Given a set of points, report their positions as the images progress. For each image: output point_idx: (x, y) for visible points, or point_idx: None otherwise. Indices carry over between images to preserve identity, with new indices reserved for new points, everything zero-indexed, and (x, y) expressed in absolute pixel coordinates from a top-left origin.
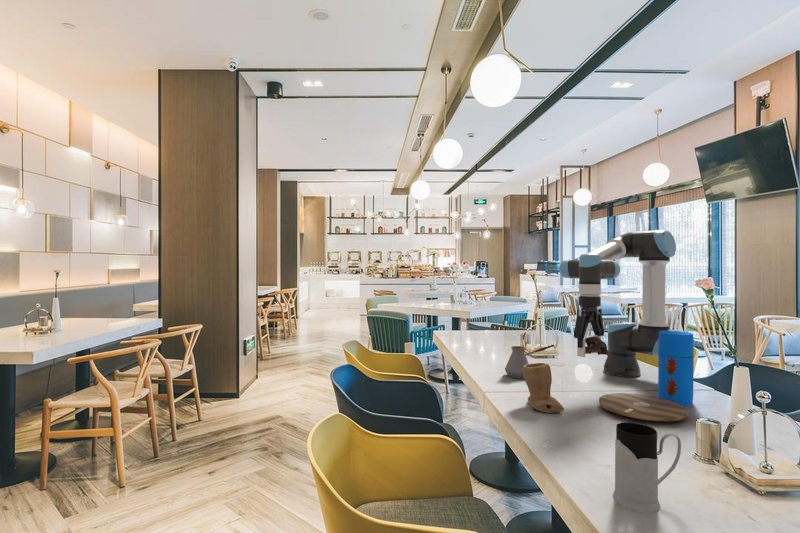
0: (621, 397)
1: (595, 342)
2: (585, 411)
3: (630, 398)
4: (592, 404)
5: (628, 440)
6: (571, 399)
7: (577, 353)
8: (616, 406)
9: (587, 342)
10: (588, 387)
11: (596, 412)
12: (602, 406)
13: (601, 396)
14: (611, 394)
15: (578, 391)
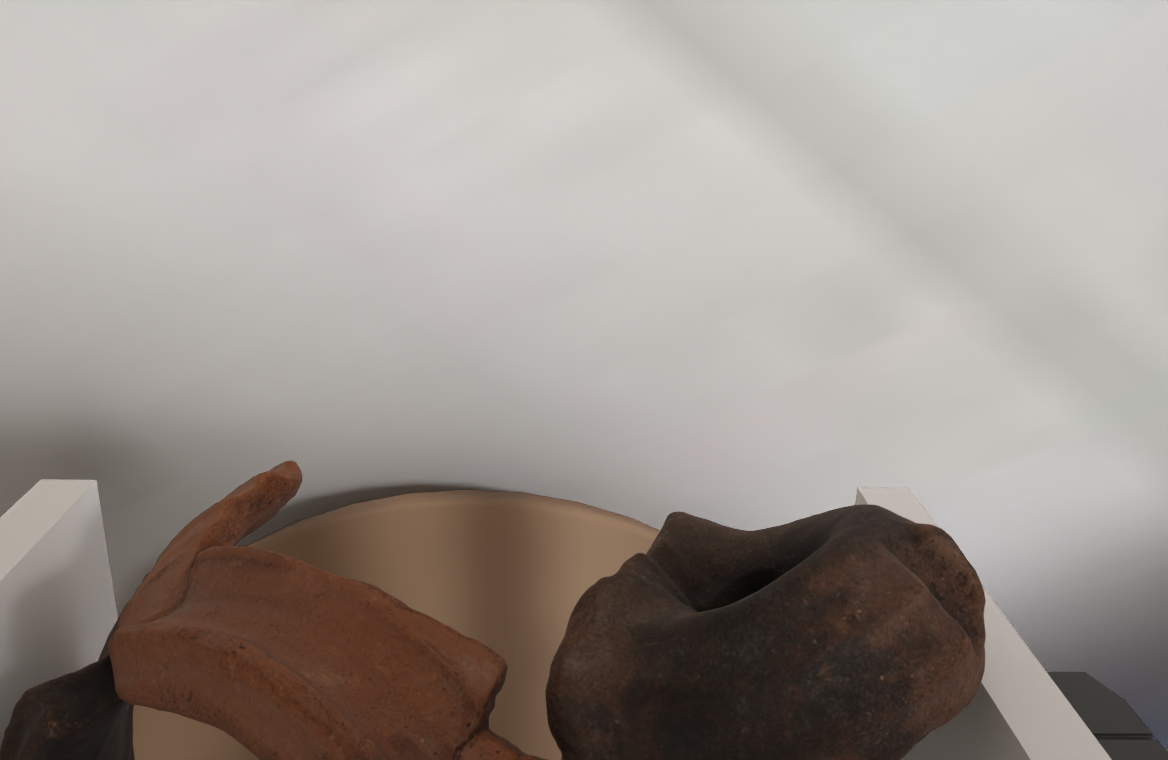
0: None
1: (952, 729)
2: (10, 496)
3: None
4: (299, 431)
5: None
6: (259, 180)
7: (4, 520)
8: (192, 753)
9: (556, 680)
10: (995, 37)
11: None
12: None
13: (404, 514)
14: (586, 546)
15: (683, 48)
